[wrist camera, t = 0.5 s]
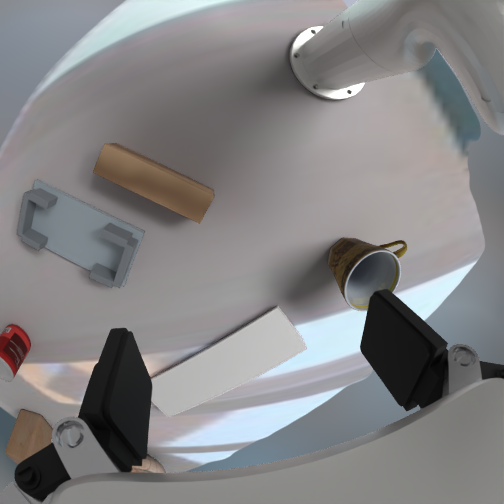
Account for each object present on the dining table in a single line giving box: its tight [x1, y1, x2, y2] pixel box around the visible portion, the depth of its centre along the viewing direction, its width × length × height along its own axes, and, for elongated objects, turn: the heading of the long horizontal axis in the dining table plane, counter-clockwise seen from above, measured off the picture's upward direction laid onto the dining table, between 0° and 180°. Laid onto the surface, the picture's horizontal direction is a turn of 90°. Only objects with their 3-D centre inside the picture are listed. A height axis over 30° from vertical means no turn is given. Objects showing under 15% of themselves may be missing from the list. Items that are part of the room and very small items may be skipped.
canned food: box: [0, 324, 31, 382], centre depth 37 cm, size 8×8×11 cm
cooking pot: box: [130, 455, 166, 473], centre depth 58 cm, size 25×19×12 cm
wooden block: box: [5, 409, 53, 464], centre depth 44 cm, size 10×10×20 cm
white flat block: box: [151, 306, 307, 418], centre depth 50 cm, size 34×5×10 cm
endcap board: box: [17, 179, 145, 288], centre depth 35 cm, size 10×21×4 cm, turn 61°
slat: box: [93, 143, 214, 224], centre depth 34 cm, size 4×16×5 cm, turn 60°
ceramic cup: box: [328, 238, 407, 311], centre depth 41 cm, size 13×10×10 cm
